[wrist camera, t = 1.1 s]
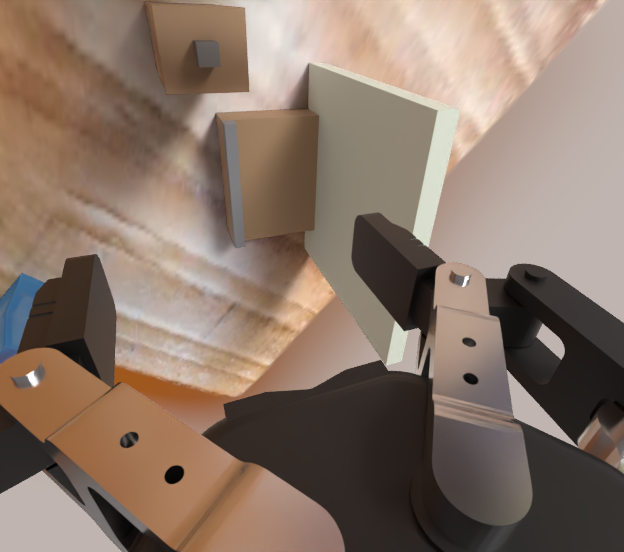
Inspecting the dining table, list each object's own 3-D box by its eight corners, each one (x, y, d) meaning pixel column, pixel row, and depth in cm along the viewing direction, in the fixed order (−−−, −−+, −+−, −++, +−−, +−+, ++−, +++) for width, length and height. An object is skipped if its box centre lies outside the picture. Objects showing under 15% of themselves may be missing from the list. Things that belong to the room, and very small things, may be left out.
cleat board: (211, 63, 34) (278, 119, 18) (324, 62, 37) (460, 109, 22) (230, 260, 45) (282, 394, 30) (315, 246, 48) (401, 361, 33)
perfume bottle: (22, 272, 38) (-13, 361, 29) (85, 301, 42) (72, 387, 32) (-15, 316, 39) (-60, 415, 30) (50, 339, 43) (28, 433, 33)
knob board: (144, 2, 30) (152, 5, 20) (211, 4, 31) (250, 8, 21) (155, 66, 32) (168, 99, 22) (216, 66, 34) (255, 96, 24)
